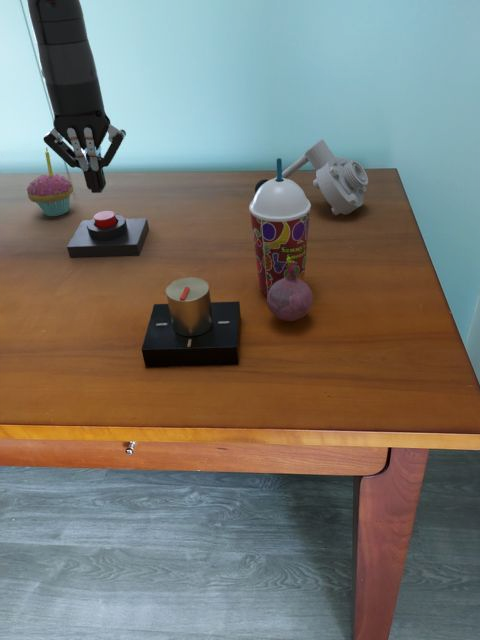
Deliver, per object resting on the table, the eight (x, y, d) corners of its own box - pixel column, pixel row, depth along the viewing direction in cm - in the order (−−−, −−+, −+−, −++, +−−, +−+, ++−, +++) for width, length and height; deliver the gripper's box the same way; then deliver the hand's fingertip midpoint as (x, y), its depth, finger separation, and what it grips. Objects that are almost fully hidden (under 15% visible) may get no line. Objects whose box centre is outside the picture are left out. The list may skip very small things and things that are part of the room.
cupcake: (56, 199, 110) (38, 141, 102) (88, 206, 107) (71, 146, 99) (25, 217, 104) (4, 156, 96) (58, 224, 101) (38, 161, 93)
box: (70, 258, 90) (63, 237, 88) (85, 231, 98) (79, 211, 96) (139, 255, 90) (135, 234, 88) (149, 228, 98) (145, 208, 95)
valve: (304, 238, 112) (261, 179, 109) (381, 187, 100) (336, 119, 96) (287, 258, 105) (240, 195, 101) (368, 205, 92) (319, 132, 89)
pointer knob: (178, 310, 72) (172, 274, 68) (217, 312, 71) (212, 276, 67) (167, 335, 68) (160, 297, 64) (208, 337, 67) (203, 300, 63)
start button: (93, 229, 90) (91, 220, 89) (98, 220, 93) (96, 211, 92) (114, 229, 90) (112, 219, 89) (119, 219, 93) (116, 210, 92)
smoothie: (293, 311, 76) (293, 175, 63) (244, 297, 79) (234, 165, 66) (317, 282, 81) (322, 153, 69) (270, 270, 85) (266, 144, 72)
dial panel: (145, 367, 68) (140, 348, 66) (157, 321, 75) (153, 302, 73) (238, 364, 67) (236, 345, 65) (240, 318, 75) (239, 300, 73)
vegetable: (317, 313, 75) (320, 251, 69) (303, 338, 71) (303, 275, 65) (278, 305, 77) (277, 244, 71) (261, 329, 73) (258, 266, 67)
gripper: (121, 69, 79) (141, 181, 90) (35, 71, 80) (65, 183, 91) (110, 80, 73) (132, 199, 84) (16, 83, 74) (51, 201, 85)
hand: (97, 190), depth 87 cm, fingers closed
